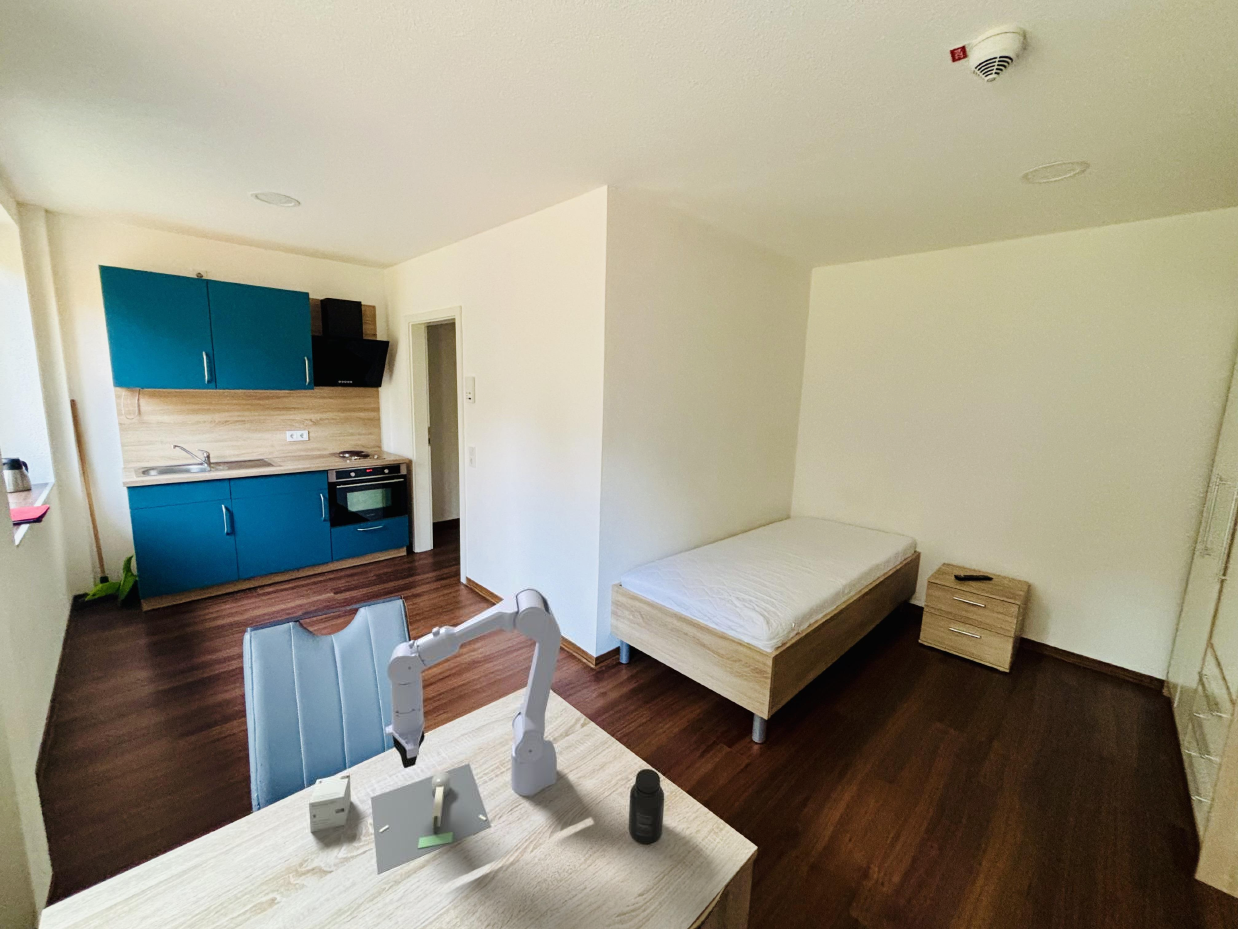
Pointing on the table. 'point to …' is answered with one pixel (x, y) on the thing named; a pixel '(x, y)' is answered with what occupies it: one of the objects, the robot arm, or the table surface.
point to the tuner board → (425, 818)
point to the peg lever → (439, 796)
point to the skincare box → (330, 802)
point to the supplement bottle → (646, 808)
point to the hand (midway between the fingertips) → (409, 764)
